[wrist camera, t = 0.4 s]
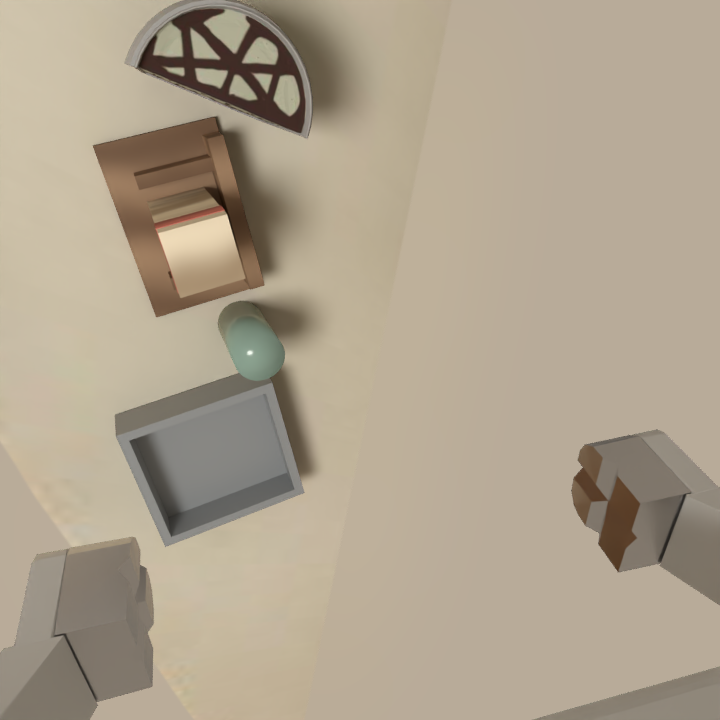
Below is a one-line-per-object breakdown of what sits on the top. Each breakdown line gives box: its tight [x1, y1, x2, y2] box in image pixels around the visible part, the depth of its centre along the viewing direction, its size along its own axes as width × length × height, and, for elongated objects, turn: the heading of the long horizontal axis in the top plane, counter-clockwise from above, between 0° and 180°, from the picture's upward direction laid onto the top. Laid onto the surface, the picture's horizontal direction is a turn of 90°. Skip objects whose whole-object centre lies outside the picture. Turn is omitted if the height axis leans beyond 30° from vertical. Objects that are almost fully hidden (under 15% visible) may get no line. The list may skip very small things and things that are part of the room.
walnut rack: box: [93, 117, 264, 317], centre depth 51 cm, size 14×9×4 cm, turn 11°
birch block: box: [147, 187, 246, 298], centre depth 47 cm, size 5×5×11 cm
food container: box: [125, 0, 313, 139], centre depth 44 cm, size 12×6×10 cm, turn 67°
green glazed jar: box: [218, 301, 285, 381], centre depth 54 cm, size 4×4×8 cm
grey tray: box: [115, 373, 304, 547], centre depth 59 cm, size 13×14×4 cm
